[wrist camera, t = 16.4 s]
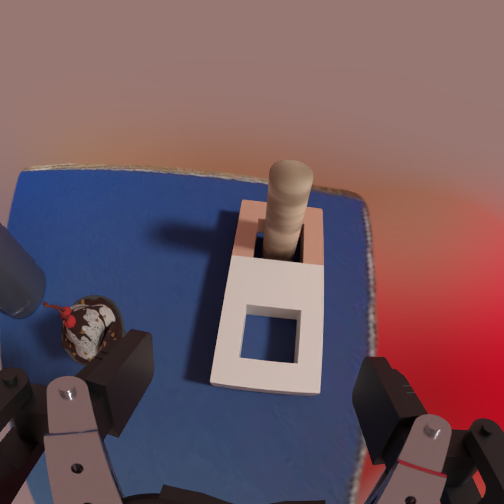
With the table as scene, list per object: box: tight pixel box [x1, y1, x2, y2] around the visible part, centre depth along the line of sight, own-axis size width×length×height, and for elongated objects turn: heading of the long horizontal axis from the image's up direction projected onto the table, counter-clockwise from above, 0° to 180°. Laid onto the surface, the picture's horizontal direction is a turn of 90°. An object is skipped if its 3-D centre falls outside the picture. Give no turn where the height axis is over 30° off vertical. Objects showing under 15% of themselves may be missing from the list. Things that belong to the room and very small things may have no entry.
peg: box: [262, 160, 313, 262], centre depth 33 cm, size 4×4×14 cm
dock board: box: [210, 200, 324, 396], centre depth 34 cm, size 24×11×3 cm, turn 173°
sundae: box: [43, 295, 127, 366], centre depth 24 cm, size 7×7×15 cm
